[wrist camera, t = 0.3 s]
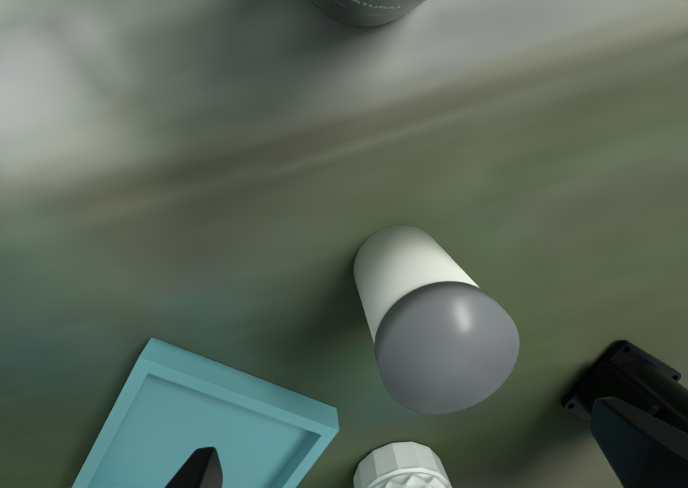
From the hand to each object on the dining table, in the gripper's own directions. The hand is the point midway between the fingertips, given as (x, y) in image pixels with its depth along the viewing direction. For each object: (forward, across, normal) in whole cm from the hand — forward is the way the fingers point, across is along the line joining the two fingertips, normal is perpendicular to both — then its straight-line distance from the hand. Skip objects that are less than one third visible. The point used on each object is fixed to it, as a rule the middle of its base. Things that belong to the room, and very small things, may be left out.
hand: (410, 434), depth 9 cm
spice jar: (+13, -3, +2) cm, 13 cm away
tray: (+13, +11, +13) cm, 21 cm away
